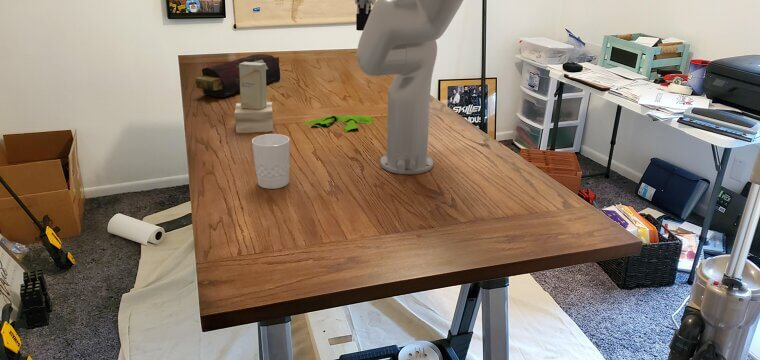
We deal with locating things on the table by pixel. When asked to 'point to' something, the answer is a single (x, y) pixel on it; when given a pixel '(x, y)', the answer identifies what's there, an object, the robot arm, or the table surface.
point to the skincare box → (253, 85)
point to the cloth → (348, 126)
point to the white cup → (272, 160)
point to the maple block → (254, 119)
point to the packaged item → (234, 75)
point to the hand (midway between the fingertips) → (364, 27)
